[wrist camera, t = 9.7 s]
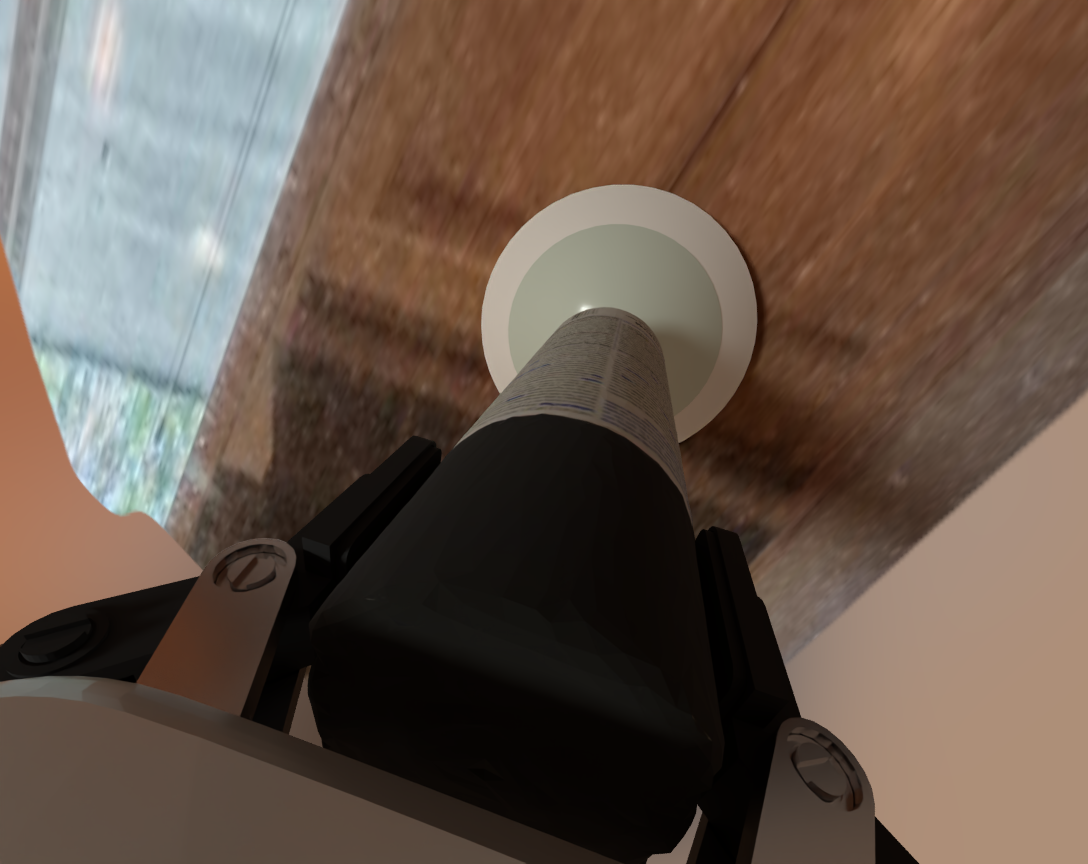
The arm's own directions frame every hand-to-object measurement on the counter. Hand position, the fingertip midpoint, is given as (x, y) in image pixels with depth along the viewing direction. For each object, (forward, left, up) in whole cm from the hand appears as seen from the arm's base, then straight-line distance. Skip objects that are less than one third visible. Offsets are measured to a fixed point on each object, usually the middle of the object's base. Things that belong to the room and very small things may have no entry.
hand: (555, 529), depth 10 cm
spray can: (0, 0, -15) cm, 15 cm away
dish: (0, 0, -21) cm, 21 cm away
